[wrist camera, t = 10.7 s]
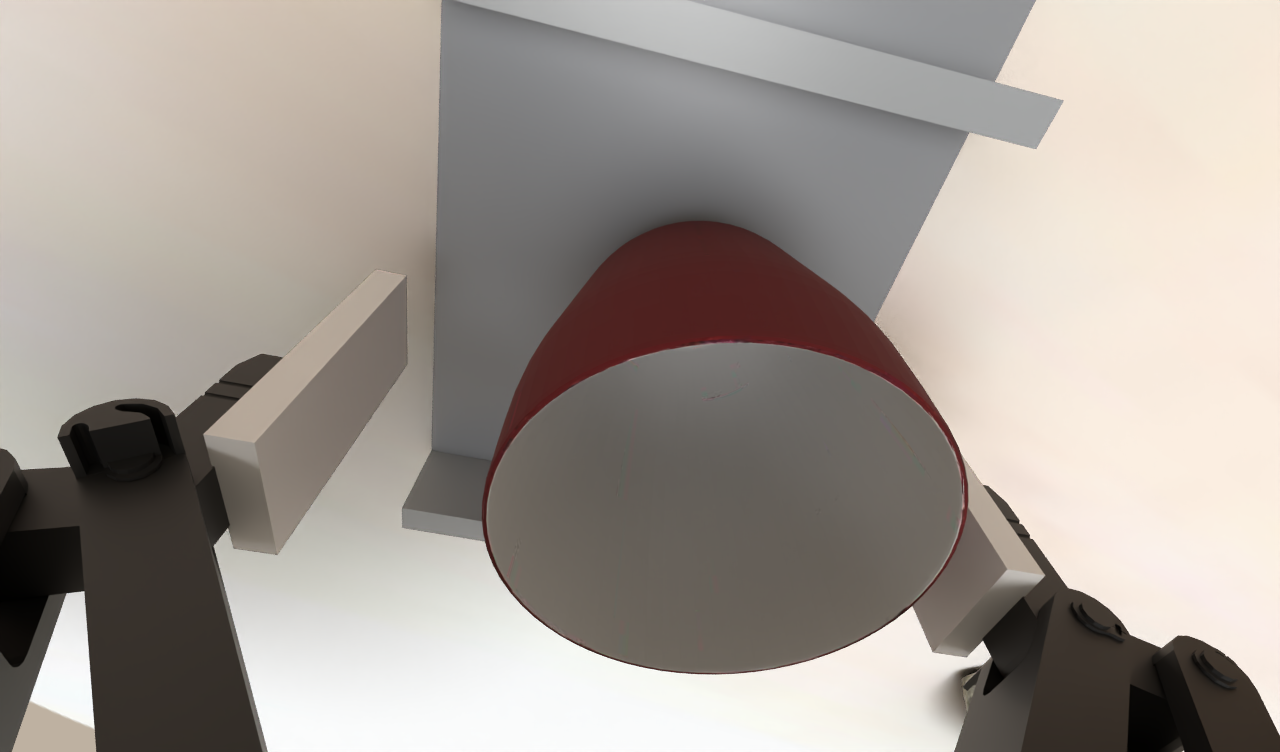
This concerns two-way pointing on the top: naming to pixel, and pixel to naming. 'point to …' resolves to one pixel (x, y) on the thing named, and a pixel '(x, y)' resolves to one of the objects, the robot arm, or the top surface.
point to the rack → (680, 163)
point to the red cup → (719, 464)
